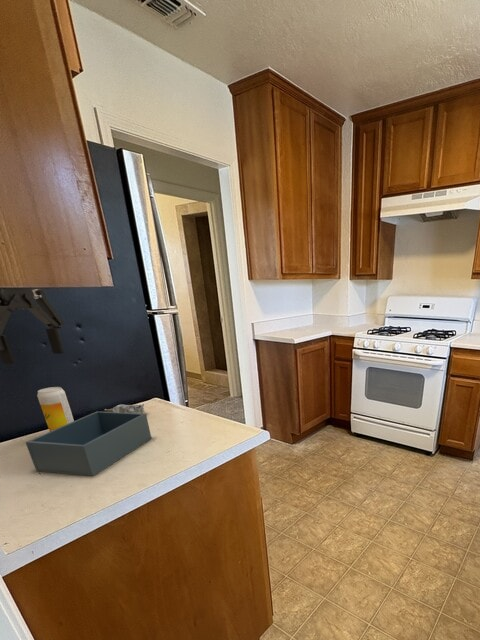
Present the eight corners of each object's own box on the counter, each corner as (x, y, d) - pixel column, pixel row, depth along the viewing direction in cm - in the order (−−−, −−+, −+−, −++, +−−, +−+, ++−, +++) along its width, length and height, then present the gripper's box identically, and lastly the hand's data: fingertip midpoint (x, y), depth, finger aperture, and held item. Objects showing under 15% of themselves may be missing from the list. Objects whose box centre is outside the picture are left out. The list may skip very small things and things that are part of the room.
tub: (36, 471, 84) (25, 442, 81) (104, 435, 103) (97, 411, 100) (93, 476, 81) (83, 446, 78) (151, 438, 101) (146, 413, 98)
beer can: (60, 437, 103) (43, 387, 97) (83, 435, 104) (67, 385, 98) (49, 445, 97) (30, 393, 91) (73, 443, 98) (56, 391, 92)
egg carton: (105, 421, 115) (101, 409, 113) (118, 413, 122) (115, 402, 120) (136, 421, 114) (133, 409, 113) (148, 413, 121) (145, 401, 119)
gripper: (-40, 264, 71) (-2, 369, 79) (65, 269, 93) (86, 350, 102) (-70, 265, 72) (-29, 367, 80) (41, 269, 95) (64, 349, 103)
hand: (35, 358), depth 91 cm, fingers open, 13 cm apart
